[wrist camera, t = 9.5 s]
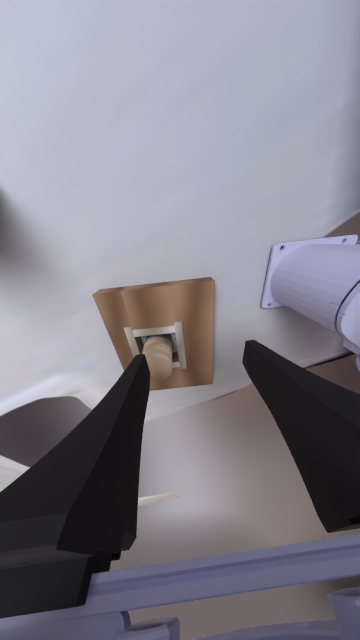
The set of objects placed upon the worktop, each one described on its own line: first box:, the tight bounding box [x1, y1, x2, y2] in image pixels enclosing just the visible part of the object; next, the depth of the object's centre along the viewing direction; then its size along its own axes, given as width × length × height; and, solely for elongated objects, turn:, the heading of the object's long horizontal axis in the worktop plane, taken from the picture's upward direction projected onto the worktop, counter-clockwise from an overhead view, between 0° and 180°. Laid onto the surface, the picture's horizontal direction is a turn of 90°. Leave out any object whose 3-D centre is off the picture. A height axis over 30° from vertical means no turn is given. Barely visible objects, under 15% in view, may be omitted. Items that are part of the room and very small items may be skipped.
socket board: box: [93, 277, 215, 391], centre depth 21 cm, size 14×18×2 cm
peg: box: [142, 333, 172, 381], centre depth 19 cm, size 4×4×6 cm
